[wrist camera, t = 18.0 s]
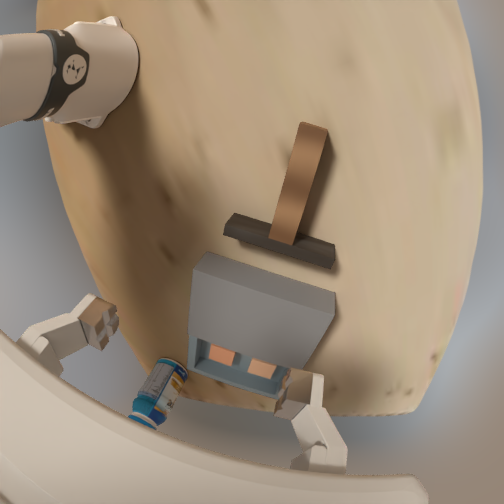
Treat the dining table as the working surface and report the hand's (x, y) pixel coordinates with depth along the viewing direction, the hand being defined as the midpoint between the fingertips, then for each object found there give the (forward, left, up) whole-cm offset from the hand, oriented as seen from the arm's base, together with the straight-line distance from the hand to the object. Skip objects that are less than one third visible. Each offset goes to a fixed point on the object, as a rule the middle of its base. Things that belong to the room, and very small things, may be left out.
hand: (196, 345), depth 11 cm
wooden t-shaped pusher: (+2, +1, -26) cm, 26 cm away
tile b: (+6, -33, -23) cm, 40 cm away
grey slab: (+2, -21, -26) cm, 33 cm away
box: (+2, -34, -26) cm, 43 cm away
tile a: (-2, -33, -23) cm, 40 cm away
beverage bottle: (-13, -50, -26) cm, 58 cm away
